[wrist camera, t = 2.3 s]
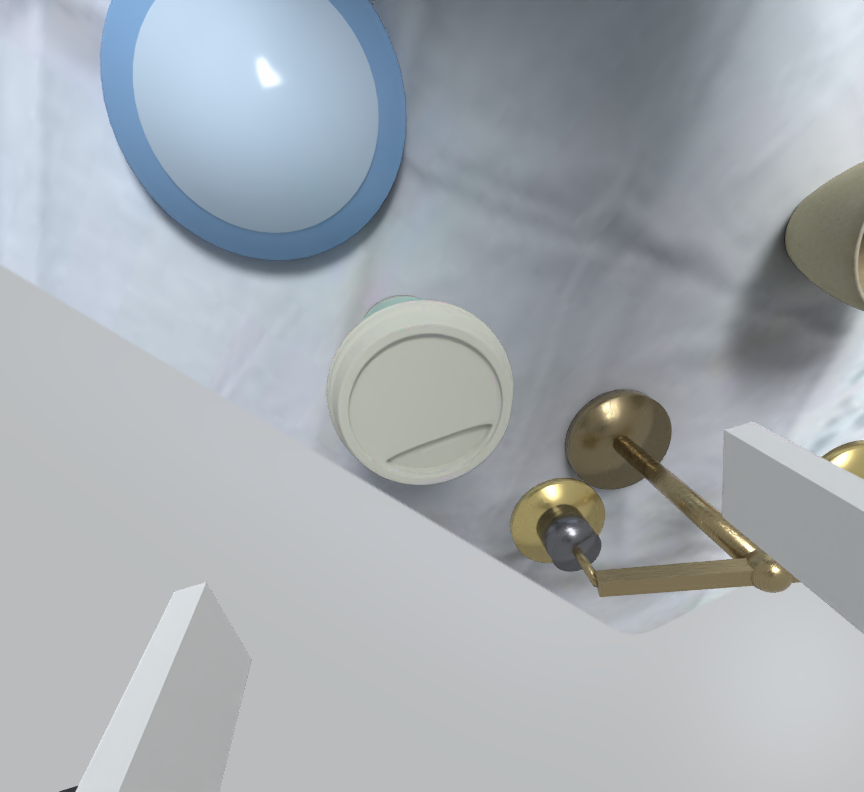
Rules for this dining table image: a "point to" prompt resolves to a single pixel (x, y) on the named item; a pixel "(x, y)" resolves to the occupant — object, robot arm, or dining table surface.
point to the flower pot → (832, 237)
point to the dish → (257, 116)
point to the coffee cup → (420, 391)
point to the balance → (623, 466)
